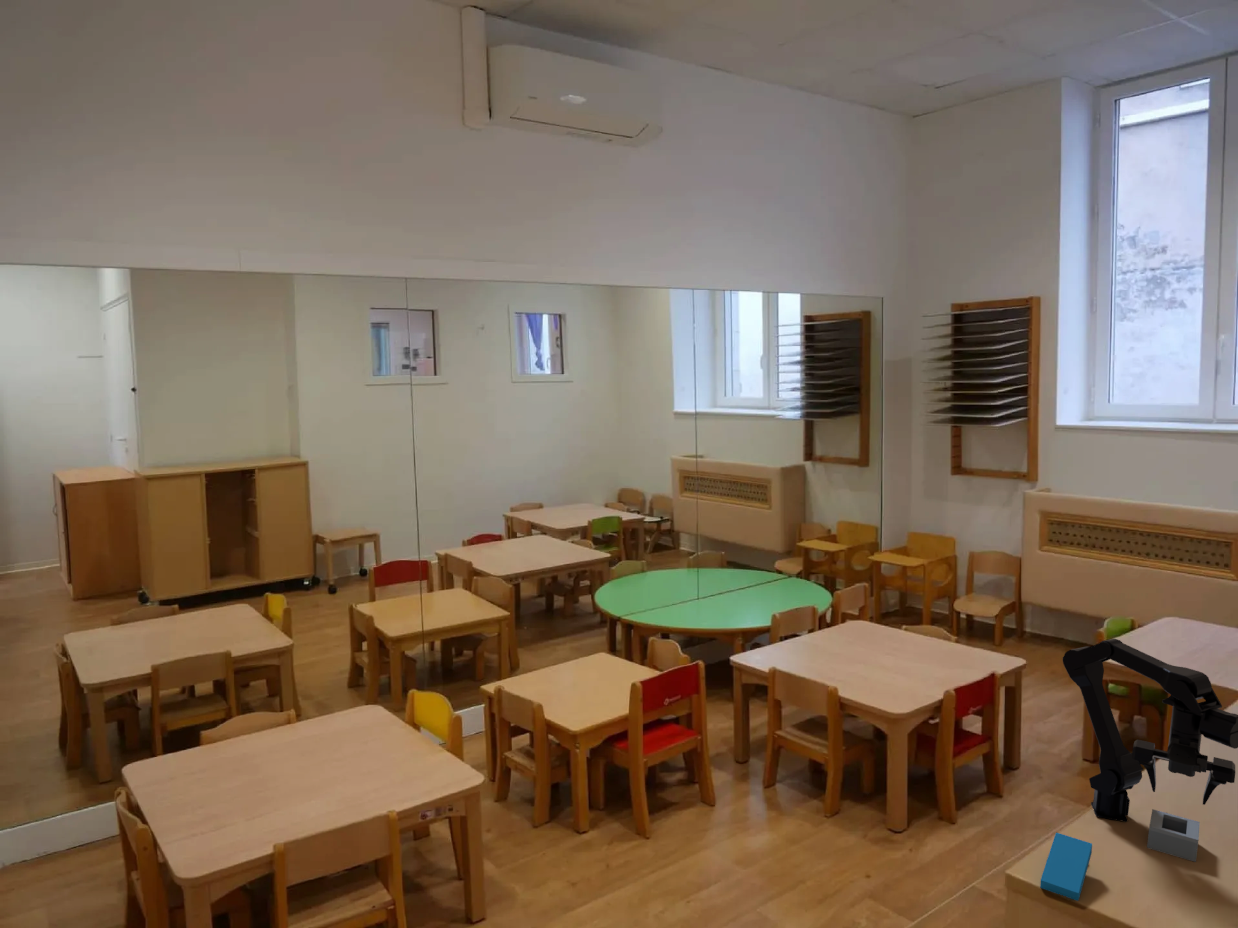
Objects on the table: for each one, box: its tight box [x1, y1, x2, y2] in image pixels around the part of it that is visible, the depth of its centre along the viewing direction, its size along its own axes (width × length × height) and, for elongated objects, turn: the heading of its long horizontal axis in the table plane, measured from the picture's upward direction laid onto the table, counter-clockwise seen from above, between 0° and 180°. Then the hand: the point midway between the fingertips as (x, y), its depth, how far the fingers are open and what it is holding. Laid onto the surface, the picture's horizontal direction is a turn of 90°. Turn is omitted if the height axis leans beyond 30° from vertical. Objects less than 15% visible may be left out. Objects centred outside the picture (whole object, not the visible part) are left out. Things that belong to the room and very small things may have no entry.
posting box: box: [1146, 808, 1201, 863], centre depth 194 cm, size 9×9×5 cm
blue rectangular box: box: [1039, 832, 1093, 902], centre depth 183 cm, size 7×7×18 cm
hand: (1178, 797), depth 193 cm, fingers open, 9 cm apart
